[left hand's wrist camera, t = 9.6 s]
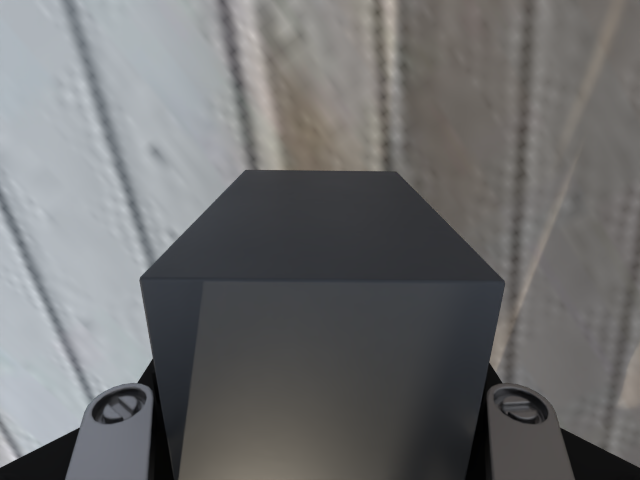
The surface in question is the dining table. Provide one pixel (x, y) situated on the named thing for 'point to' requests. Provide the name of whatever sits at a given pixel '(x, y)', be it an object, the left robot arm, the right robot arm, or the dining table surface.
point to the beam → (320, 333)
